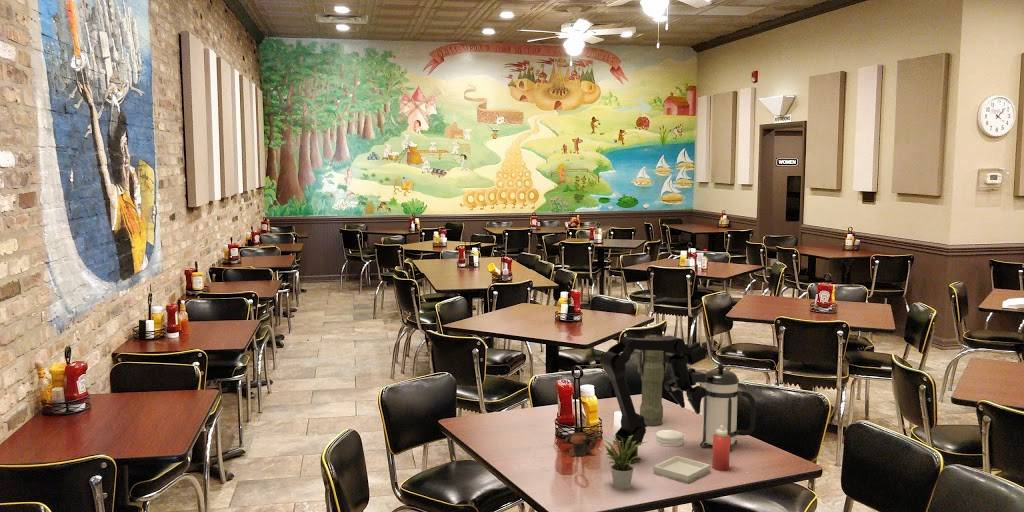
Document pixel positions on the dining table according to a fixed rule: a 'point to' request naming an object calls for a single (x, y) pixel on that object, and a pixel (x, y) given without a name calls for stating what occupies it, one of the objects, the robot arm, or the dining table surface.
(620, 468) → the house plant
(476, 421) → the dining table surface
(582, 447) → the pottery mug
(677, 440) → the cream round disc
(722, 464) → the squeeze bottle
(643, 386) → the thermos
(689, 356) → the robot arm
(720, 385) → the coffee press
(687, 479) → the tray
